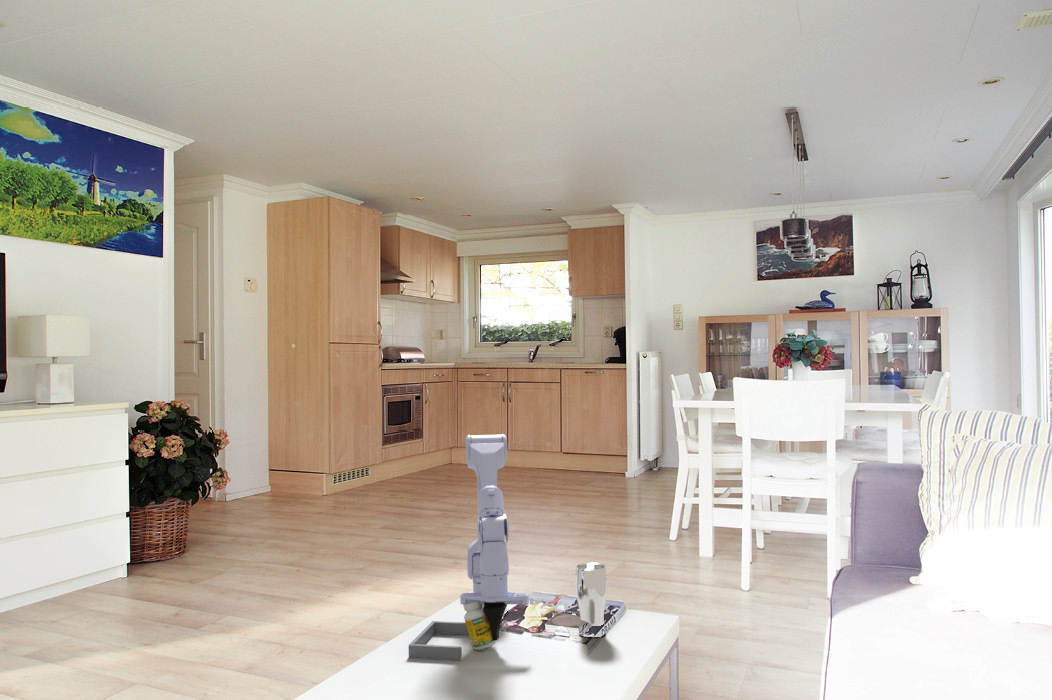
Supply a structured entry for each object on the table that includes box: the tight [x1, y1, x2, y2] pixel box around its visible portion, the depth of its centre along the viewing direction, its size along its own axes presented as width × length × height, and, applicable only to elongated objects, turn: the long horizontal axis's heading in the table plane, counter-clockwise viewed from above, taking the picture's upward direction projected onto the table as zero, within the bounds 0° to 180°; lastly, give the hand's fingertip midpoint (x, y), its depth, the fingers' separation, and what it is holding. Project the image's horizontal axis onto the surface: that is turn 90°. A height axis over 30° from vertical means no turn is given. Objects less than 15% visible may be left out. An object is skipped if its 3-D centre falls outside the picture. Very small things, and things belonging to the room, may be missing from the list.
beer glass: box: [575, 562, 608, 626], centre depth 167 cm, size 7×7×15 cm
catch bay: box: [408, 620, 469, 661], centre depth 161 cm, size 16×11×2 cm
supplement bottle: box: [462, 600, 498, 651], centre depth 159 cm, size 5×5×10 cm
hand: (495, 638), depth 157 cm, fingers closed, pressing on supplement bottle
